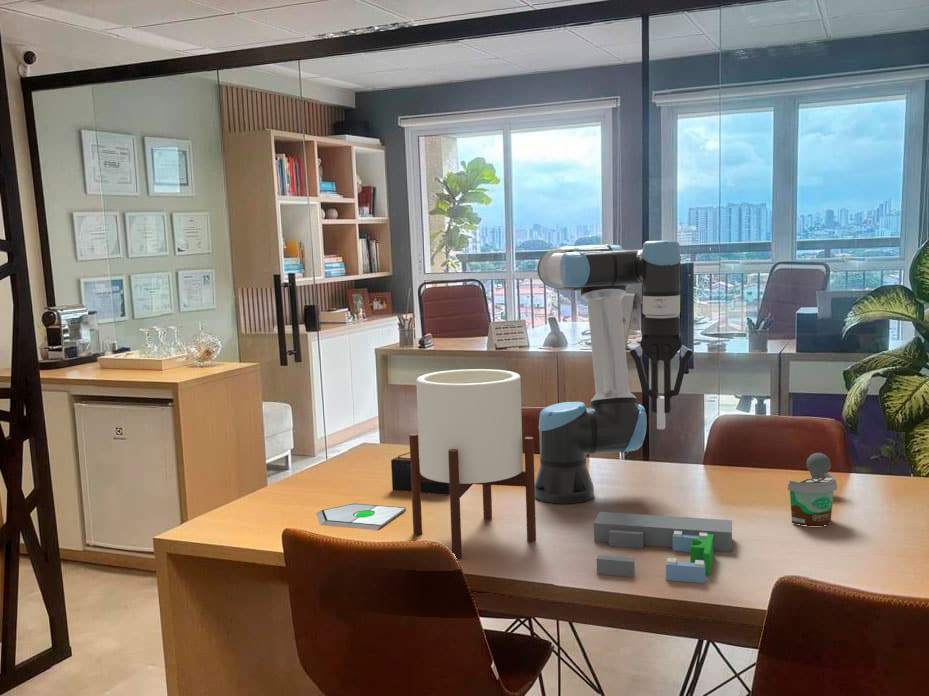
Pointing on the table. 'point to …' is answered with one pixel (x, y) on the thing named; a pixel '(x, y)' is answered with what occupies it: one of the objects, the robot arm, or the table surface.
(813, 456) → the light bulb
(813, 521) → the food container
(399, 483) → the radio
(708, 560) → the pipe clamp
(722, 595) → the table surface
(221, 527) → the table surface
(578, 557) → the table surface
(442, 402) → the plant pot with stand
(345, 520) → the grey pentagonal plate
